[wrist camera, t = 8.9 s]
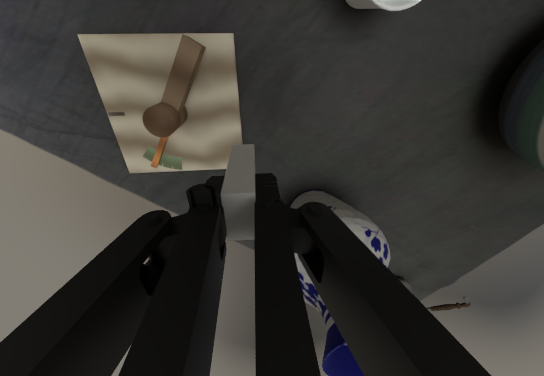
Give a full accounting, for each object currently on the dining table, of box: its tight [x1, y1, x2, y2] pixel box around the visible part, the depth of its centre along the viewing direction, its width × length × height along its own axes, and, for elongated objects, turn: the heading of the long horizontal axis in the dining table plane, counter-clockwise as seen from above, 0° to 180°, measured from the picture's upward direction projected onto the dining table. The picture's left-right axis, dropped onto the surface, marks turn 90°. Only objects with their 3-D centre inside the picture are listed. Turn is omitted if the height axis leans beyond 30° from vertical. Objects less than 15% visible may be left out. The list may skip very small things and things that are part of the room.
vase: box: [290, 190, 390, 376], centre depth 39 cm, size 19×19×30 cm
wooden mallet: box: [142, 34, 206, 168], centre depth 34 cm, size 22×4×7 cm, turn 150°
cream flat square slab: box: [77, 33, 243, 173], centre depth 38 cm, size 22×22×1 cm
